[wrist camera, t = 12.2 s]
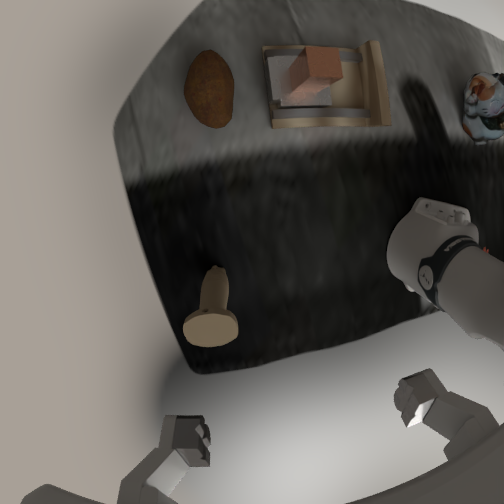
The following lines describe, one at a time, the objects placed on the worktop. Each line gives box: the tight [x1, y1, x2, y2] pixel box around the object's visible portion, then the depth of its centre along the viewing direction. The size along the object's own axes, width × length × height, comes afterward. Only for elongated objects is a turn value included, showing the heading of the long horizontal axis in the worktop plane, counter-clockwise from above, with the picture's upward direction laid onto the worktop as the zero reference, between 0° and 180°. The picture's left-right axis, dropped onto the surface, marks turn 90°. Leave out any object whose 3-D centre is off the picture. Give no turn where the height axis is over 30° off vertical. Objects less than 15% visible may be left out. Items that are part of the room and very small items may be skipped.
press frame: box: [262, 40, 391, 129], centre depth 31 cm, size 16×13×6 cm
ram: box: [264, 46, 343, 109], centre depth 27 cm, size 8×7×12 cm
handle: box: [183, 265, 238, 347], centre depth 38 cm, size 5×6×15 cm
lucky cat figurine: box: [462, 72, 504, 145], centre depth 29 cm, size 15×12×14 cm
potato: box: [184, 50, 234, 129], centre depth 31 cm, size 7×12×7 cm, turn 13°
